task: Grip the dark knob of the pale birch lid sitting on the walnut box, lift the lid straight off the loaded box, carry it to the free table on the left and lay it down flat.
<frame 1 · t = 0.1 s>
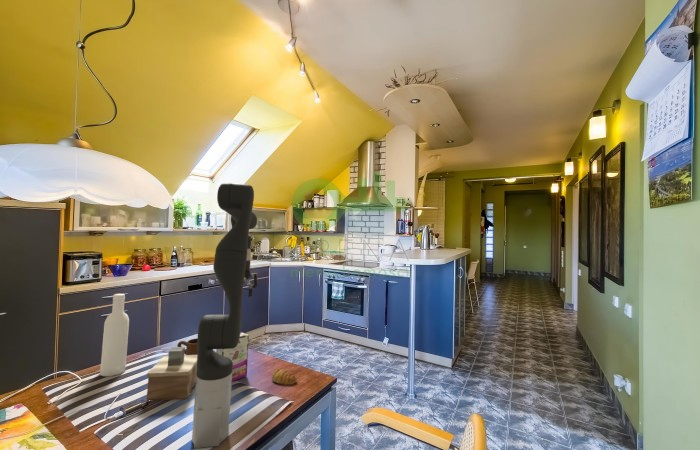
hand: (238, 297, 129), 29 cm above the table, tool pointing down, fingers open, 8 cm apart
candy bar box: (230, 379, 117), on the table
mug: (190, 363, 130), on the table
pastry: (283, 381, 119), on the table
lid: (175, 366, 108), point 8 cm above the table, touching box
bottle: (112, 372, 118), on the table
box: (174, 389, 108), on the table
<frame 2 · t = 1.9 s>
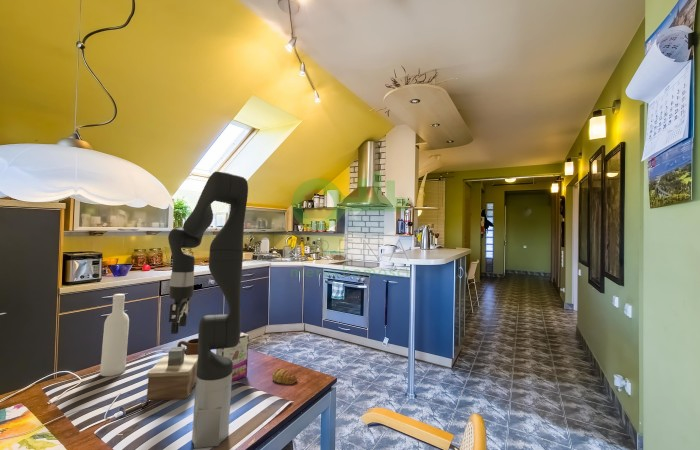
hand: (178, 329, 108), 21 cm above the table, tool pointing down, fingers open, 8 cm apart
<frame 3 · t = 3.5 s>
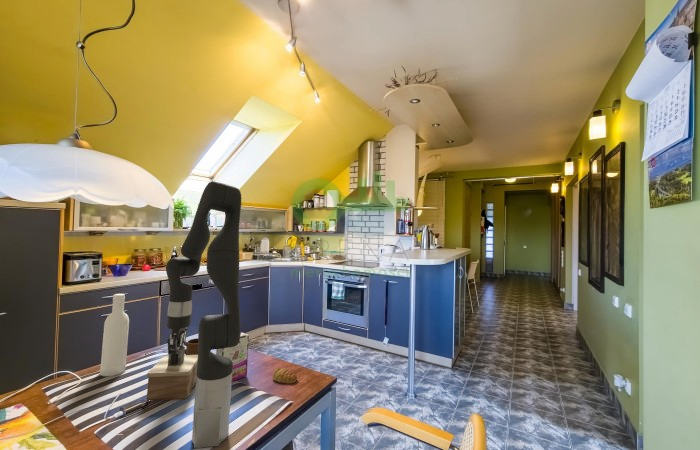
hand: (176, 361, 108), 10 cm above the table, tool pointing down, fingers closed on lid, 4 cm apart
lid: (175, 366, 108), point 8 cm above the table, touching box, gripper
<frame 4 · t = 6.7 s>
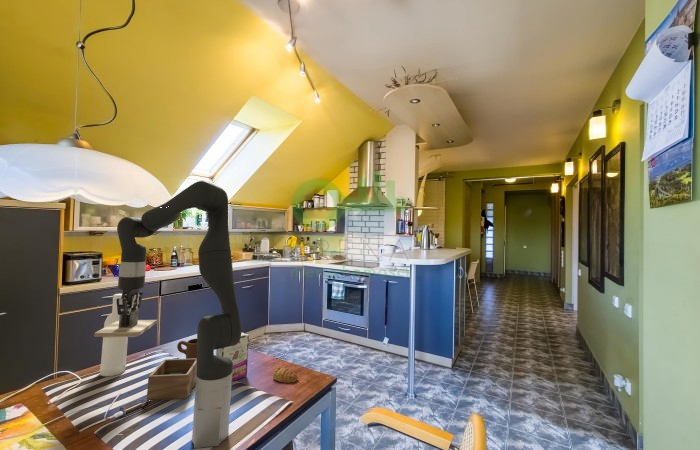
hand: (128, 324, 105), 23 cm above the table, tool pointing down, fingers closed on lid, 4 cm apart
lid: (127, 329, 105), point 21 cm above the table, touching gripper
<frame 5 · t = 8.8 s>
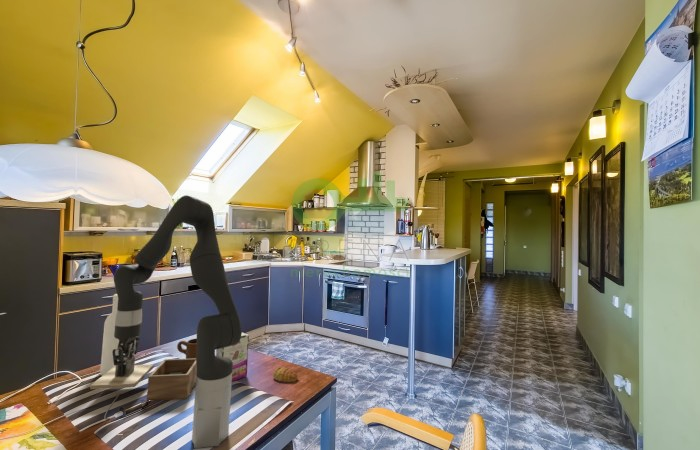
hand: (124, 372, 105), 7 cm above the table, tool pointing down, fingers closed on lid, 4 cm apart
lid: (124, 377, 104), point 5 cm above the table, touching gripper
when the fingers open (4 cm above the table, at t = 10.2 s): lid drops 2 cm, on the table.
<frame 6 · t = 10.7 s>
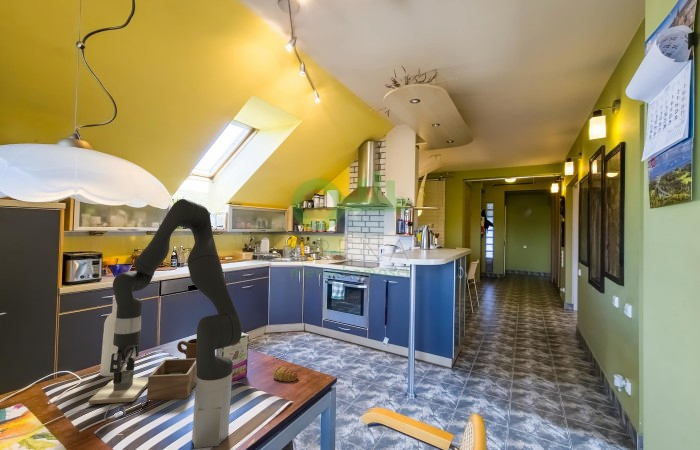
hand: (123, 377, 104), 5 cm above the table, tool pointing down, fingers open, 8 cm apart
lid: (122, 391, 104), on the table
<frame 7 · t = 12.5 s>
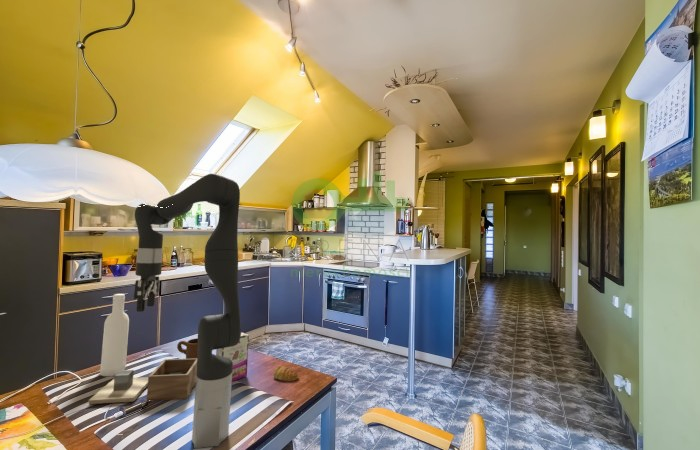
hand: (145, 308, 105), 29 cm above the table, tool pointing down, fingers open, 8 cm apart
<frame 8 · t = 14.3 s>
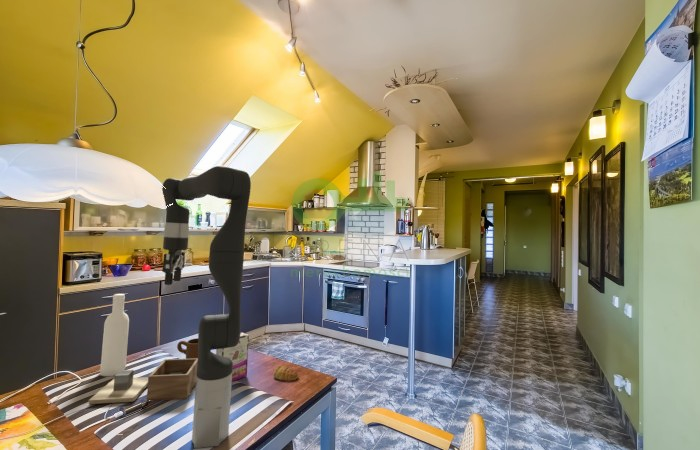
hand: (172, 282, 106), 38 cm above the table, tool pointing down, fingers open, 8 cm apart
at the end: lid inside the target area (0.1 cm from its centre), point 0.5 cm above the table; lid tilted 0°; the gripper is holding nothing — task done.
